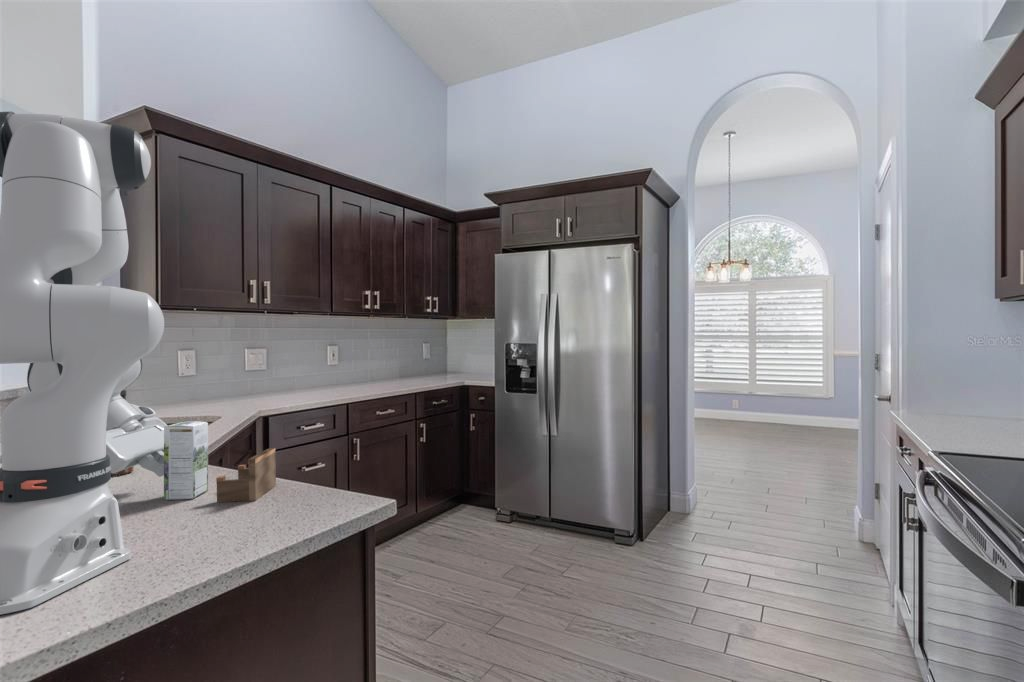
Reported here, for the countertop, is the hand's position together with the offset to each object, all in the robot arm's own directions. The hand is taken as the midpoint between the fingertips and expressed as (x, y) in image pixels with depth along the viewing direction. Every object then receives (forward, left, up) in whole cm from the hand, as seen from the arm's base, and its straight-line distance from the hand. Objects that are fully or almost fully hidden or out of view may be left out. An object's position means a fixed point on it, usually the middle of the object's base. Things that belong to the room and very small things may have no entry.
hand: (167, 472), depth 106 cm
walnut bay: (0, -15, -5) cm, 16 cm away
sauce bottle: (+22, +23, -5) cm, 32 cm away
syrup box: (0, -4, -5) cm, 6 cm away
